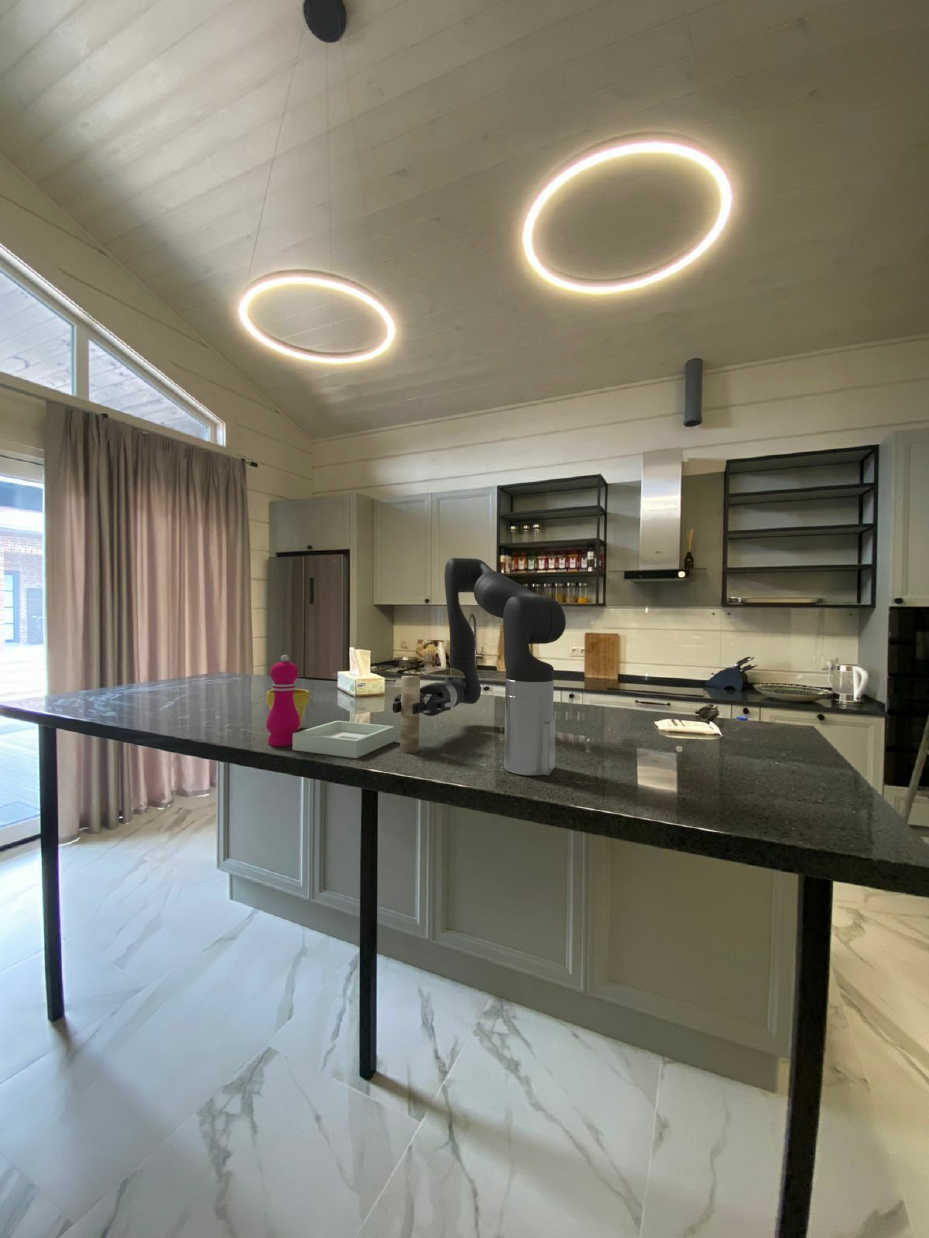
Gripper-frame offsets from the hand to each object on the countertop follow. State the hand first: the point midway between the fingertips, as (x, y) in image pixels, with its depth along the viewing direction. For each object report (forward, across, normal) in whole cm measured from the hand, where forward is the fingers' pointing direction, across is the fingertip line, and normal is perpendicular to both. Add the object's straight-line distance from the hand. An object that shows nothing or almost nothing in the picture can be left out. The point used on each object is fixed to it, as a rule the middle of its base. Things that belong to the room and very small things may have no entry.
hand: (404, 708), depth 105 cm
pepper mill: (+3, -29, +10) cm, 31 cm away
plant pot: (-9, -38, +10) cm, 40 cm away
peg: (-3, 0, +10) cm, 10 cm away
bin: (-1, -15, +10) cm, 18 cm away
